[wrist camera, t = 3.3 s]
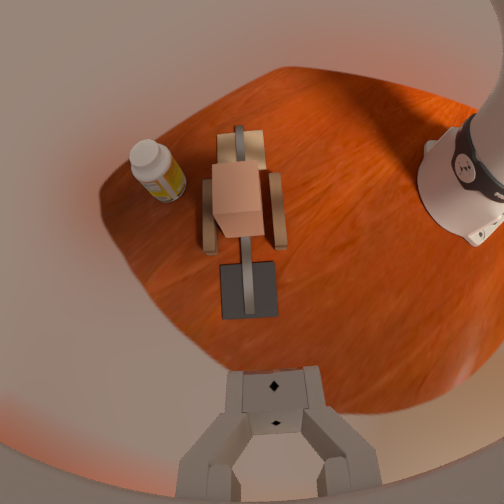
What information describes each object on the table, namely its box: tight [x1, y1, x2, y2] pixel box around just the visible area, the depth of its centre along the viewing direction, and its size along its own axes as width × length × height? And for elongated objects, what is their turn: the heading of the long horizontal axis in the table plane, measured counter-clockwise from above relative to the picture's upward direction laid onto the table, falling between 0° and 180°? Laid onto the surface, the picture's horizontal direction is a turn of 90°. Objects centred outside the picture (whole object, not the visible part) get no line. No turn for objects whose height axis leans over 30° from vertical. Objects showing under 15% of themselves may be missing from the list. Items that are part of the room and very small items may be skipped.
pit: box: [220, 262, 278, 320], centre depth 38 cm, size 7×7×1 cm
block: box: [212, 160, 264, 238], centre depth 36 cm, size 6×5×9 cm
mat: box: [217, 130, 266, 170], centre depth 43 cm, size 7×7×1 cm
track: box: [202, 125, 287, 314], centre depth 40 cm, size 28×10×2 cm, turn 3°
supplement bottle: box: [129, 139, 186, 202], centre depth 38 cm, size 6×6×10 cm
